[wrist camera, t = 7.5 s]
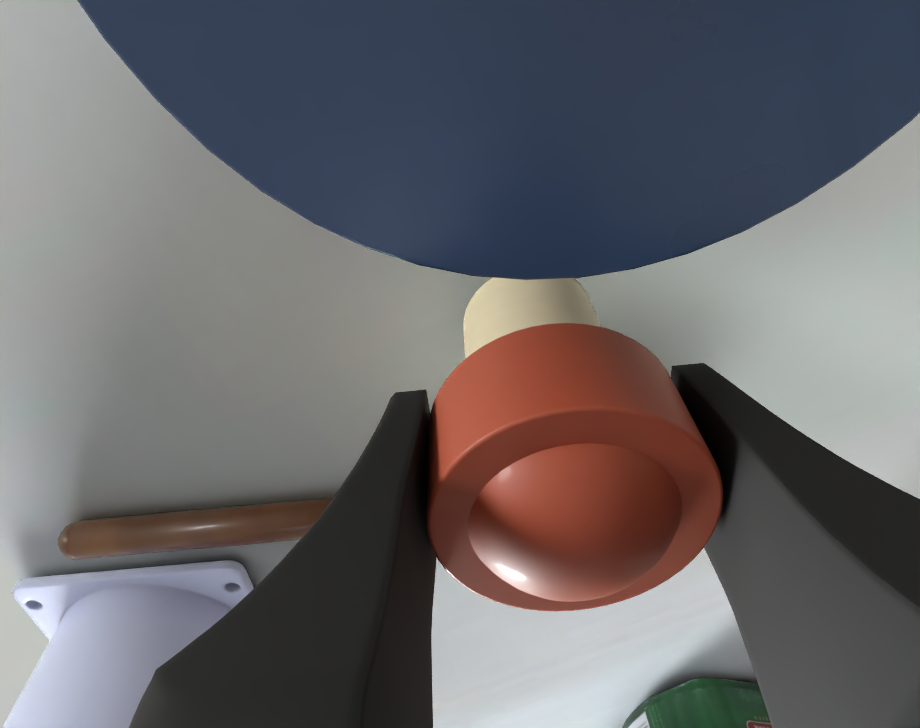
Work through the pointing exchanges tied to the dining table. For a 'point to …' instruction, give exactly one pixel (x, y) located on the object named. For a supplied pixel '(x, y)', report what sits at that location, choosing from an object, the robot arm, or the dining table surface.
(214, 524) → the spoon
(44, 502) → the dining table surface
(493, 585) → the toy mushroom
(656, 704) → the coffee jar
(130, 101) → the dining table surface
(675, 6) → the pot lid
